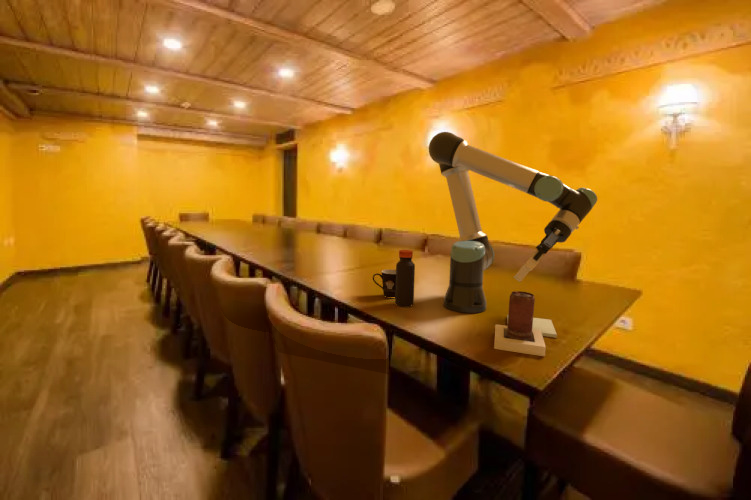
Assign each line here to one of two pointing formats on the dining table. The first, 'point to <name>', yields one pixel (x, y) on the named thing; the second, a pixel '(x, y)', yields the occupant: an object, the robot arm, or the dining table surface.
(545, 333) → the rubber mat
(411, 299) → the bottle
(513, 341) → the cup holder
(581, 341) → the dining table surface
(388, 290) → the coffee mug
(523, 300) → the can
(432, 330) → the dining table surface
